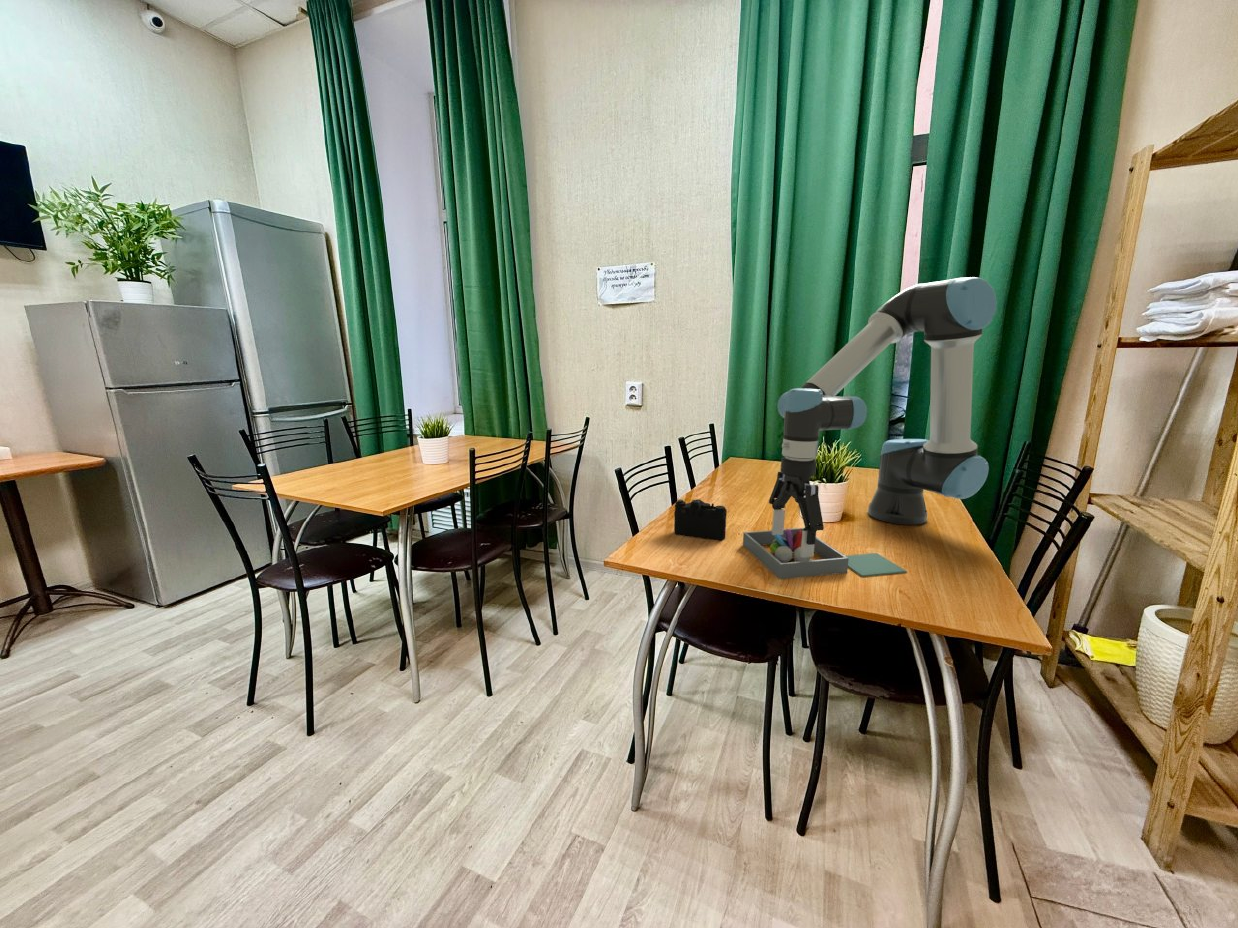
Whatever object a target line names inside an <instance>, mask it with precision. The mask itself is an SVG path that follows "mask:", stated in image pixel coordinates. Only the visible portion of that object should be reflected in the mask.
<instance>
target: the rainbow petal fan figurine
mask: <svg viewBox="0 0 1238 928" xmlns="http://www.w3.org/2000/svg"><path fill="white" fill-rule="evenodd" d="M785 529H786V539H784V538H783V537H782V536H781V535H779V534H776V535H775V540H774V541H773V543H772V544H770V546H769V550H770V551H771V553H773V554H774V557H775V558H776V559H778V560H779V561H780V562H781V563H788V562H789V561H791V560H792V559H793V560H794V562H799V561H810V560H811V558H812V557H803V558H802V557H801V556H800V555H801V544H802V533H803V531H801V530H799V531H797V532H796V533H795V535H794V536H793V538H792V534H791V530H790V529H791V528H785Z"/></svg>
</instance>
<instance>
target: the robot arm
mask: <svg viewBox="0 0 1238 928" xmlns="http://www.w3.org/2000/svg"><path fill="white" fill-rule="evenodd" d="M997 304H998V301H997V296H996V292H995V289H994V288H993V286H992V285H991V284H989V282H988V281H987V280H986V279H984V278H980V277H978V276H977V277H975V276H972V277H971V276H970V277H957V278H952V279H951V278H950V279H945V280H940V281H932V282H925V283H917V284H915V285H912V286H910V287H908V288H906V289H903V290H902V291H900V292H899V293H897V294H896V295H894V296H893V297H891V298H890V299H889V300H888V301H886V302H885V303H883V305H881V306H880V307H879V308H878V309H877V310H876V311H874V312H873V313H872V314H871V316H870V317H868V321H867V324H866V326H864V327H862V329H861V330H860V331H859V332H858V333H857V334H856V335H855V336H854V337H853V338H851V340H850V341H848V342H847V343H846V344H845V345H844V346H843V347H842V348H841V349H840V350H839V351H837V353H836V354H834V356H832V358H830V359H829V360H828V361H827V362H826V363H825V364H824V365H823V366H822V367H821V368H820V369H818V371H817V372H815V374H813V375H812V376H811V378H809V379H808V380H807V381H806V382H805V383H804V384H803V385H802V386H801V387H798V388H792V389H791V388H790V389H789V390H788V391H786V392H784V393H782V395H781V396H779V398H778V401H777V411H778V414H779V415H780V417H782V418H783V419H784V420H783V421H784V422H783V436H782V438H783V439H782V444H781V448H782V451H781V455H782V458H781V460H780V471H777V476H776V481H775V483H774V485H773V488H772V492H771V494H770V497H769V499H768V504H769V505H772V506H771V508H772V509H773V510H772V511H773V512H772V513H773V515H772V527H771V530H772V535H776V534H779V535H783V531H784V529H785V518H786V505H787V503H788V502H789V500H790V499H791V498H793V499H794V501H795V502H796V503H797V504H798V507H799V511H800V514H801V517H802V521H803V524H804V525H803V526H804V527H802V528H803V533H802V544H801V555H800V556H801V557H802V558H803V557H811V558H813V557H814V552H815V551H814V545H815V540H816V539H815V538H816V537H817V531H823V530H824V529H825V527H824V521H823V516H822V515H823V514H822V509H821V503H820V498H819V487H820V486H819V485H818V484H811V481H810V480H811V478H812V477H813V476H815V475H816V471H817V460H816V458H817V457H818V451H819V449H818V448H819V440H820V439H819V438H820V431H822V432H823V431H833V430H834V431H835V430H845V431H848V430H851V429H857V428H859V427H861V426H862V425H863V424H864V423H865V421H866V420H867V414H868V407H867V405H866V402H865V401H864V400H863V399H862V398H861V397H859V396H851V395H845V396H838V394H839V393H840V392H841V391H842V390H843V389H844V388H846V386H847V385H848V384H850V382H851V381H853V380H854V379H855V377H856V376H857V375H859V374H860V373H861V372H862V371H863V370H864V369H865V368H866V367H867V366H868V365H869V364H870V363H872V361H874V360H875V359H876V358H877V357H878V356H879V355H880V354H881V353H882V352H883V351H885V349H887V347H888V346H890V345H891V344H896V343H898V342H900V341H901V340H902V338H904V337H905V336H907V335H909V334H913V333H917V332H923V342H925V344H926V345H929V346H930V351H931V352H930V411H929V413H930V416H929V420H930V421H929V426H930V427H929V439H925V438H924V439H923V438H897V439H889V440H886V441H884V442H883V444H882V447H881V453H880V455H879V456H880V458H879V467H878V468H879V469H878V480H877V487H876V490H875V492H874V495H873V496H872V499H871V502H870V503H869V504H868V509H867V514H868V515H869V517H872V518H874V519H876V520H878V521H881V522H885V523H889V524H896V525H907V526H909V525H910V526H912V525H913V526H915V525H916V526H917V525H922V524H925V523H926V522H927V520H928V510H927V508H926V502H925V497H924V491H928V492H931V493H935V494H938V495H941V496H943V497H947V498H952V499H953V498H954V499H957V500H958V499H959V500H964V499H969V498H970V497H972V496H974V495H975V494H977V493H978V491H980V489H981V488H982V487H983V486H984V484H985V482H986V481H987V478H988V475H989V470H990V468H989V463H988V461H987V459H986V458H984V457H983V456H982V455H978V444H977V443H976V442H975V441H973V440H972V439H971V430H972V429H971V428H972V427H971V425H972V406H973V405H972V402H973V401H972V400H973V378H974V377H973V376H974V374H973V373H974V350H975V347H974V346H975V342H976V341H977V340H979V339H980V338H981V337H982V336H983V329H984V328H986V327H988V326H990V324H991V322H993V320H994V316H995V315H996V312H997V306H998V305H997Z"/></svg>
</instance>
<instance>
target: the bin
mask: <svg viewBox="0 0 1238 928" xmlns="http://www.w3.org/2000/svg"><path fill="white" fill-rule="evenodd" d="M803 528H804V527H797V528H796V527H795V528H789V529H790V530H791V534H792V538H793V536H794V535H795V533H796V532H797V531H799V530H801V531H803ZM786 529H787V528H784V531H783V535H781V536H782V537H783V538H784V539H786ZM742 534H743V535H742V536H743V538H742V547H744V548H745V549H746V550H747V551H748V552H750V554H751V555H753V556H754V557H755V558H756V559H757V560H758V561H759V562H760V563H761V564H762V565H763V566H765V567H766V568H767V570H769V571H770V572H771V573H772V574H773V575H774V576H775V577H777V579H778V580H786V579H797V578H807V577H819V576H827V575H829V576H830V575H838V574H839V575H840V574H847V573H848V570H849V568H848V561H849V558H848V557H846V556H847V555H844V554H843V553H841V552H840V551H838V550H837V549H835V548H834V547H832V546H831V545H829V544H828V543H826V542H825V541H823V540H822V539H820V538H819V537H817V536H816V538H815V539H816V540H815V545H814V552H815V553H816V554H818V555H819V556H820V557H822V558H823V559H810V560H809V561H799V562H796V561H791V562H786V563H783V562H780V561H779V560H778V559H776V557H775V555H773V554H772V552H771V553H770V552H769V551H768V550H767V549H766V548H765V547H764V545H765V546H766V545H772V543H773V541H774V540H775V535H772V529H770V530H758V531H757V530H756V531H747V532H746V531H745V532H743V533H742Z"/></svg>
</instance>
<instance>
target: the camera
mask: <svg viewBox="0 0 1238 928" xmlns="http://www.w3.org/2000/svg"><path fill="white" fill-rule="evenodd" d="M714 505H715V504H714V502H712V503H708V502H705V501H703V500H702V499H692V500H691V501H690V502H688V503H686V501H684V499H677V500H676V501H675V504H674V513H673V514H674V517H673V518H674V519H673V521H674V523H673V529H674V530H673V532H674V535H676V536H681V537H683V536H684V537H687V538H688V537H689V538H695V539H703V540H711V541H717V542H722V541H724V540H725V539H726V533H727V531H726V527H727V512H728V509H727V508H726V506H724V505H716V506H714Z"/></svg>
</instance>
